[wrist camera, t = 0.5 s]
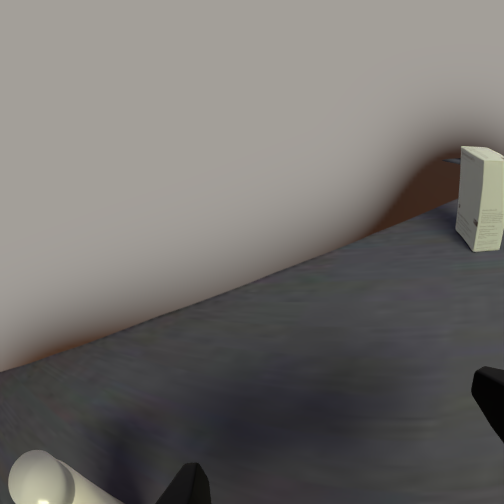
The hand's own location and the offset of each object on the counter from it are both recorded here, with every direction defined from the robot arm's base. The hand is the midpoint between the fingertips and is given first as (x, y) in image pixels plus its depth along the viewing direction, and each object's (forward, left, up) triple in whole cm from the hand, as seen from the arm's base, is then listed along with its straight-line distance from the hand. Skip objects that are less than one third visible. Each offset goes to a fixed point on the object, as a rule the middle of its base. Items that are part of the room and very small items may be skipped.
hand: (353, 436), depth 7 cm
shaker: (-4, +16, -16) cm, 23 cm away
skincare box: (+38, -26, -16) cm, 49 cm away
